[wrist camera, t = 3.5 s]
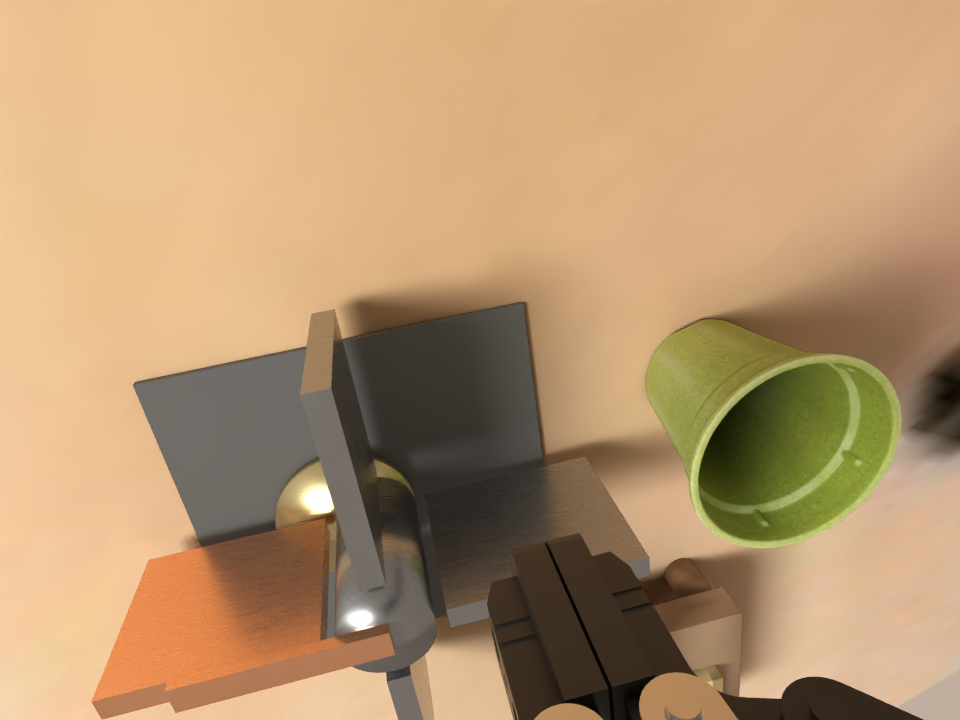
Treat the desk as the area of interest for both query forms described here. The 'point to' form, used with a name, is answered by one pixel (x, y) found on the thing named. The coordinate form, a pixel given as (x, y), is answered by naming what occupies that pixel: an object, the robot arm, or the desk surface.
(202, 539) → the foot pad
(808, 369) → the plant pot
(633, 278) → the desk surface
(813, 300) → the desk surface
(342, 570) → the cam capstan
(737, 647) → the level stand
